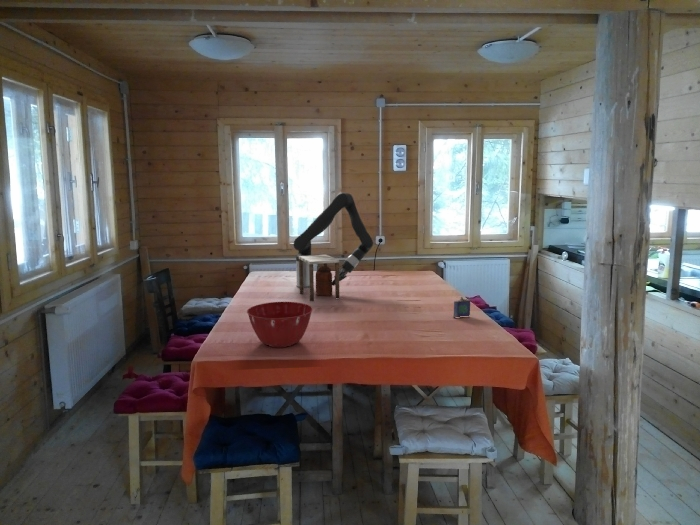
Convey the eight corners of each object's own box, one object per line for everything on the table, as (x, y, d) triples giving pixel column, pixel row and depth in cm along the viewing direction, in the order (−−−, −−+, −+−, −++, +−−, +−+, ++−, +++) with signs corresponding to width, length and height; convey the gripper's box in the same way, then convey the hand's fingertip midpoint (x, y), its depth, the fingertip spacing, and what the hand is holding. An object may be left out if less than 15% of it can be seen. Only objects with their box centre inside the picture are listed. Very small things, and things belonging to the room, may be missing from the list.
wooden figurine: (335, 294, 339) (335, 266, 336) (331, 296, 333) (330, 267, 331) (318, 293, 343) (317, 265, 341) (313, 295, 338) (313, 266, 335)
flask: (455, 318, 280) (455, 298, 278) (452, 317, 282) (452, 297, 281) (470, 317, 283) (471, 297, 281) (467, 316, 285) (468, 295, 284)
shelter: (299, 293, 344) (298, 256, 341) (327, 290, 351) (326, 254, 347) (310, 301, 322) (309, 261, 318) (340, 298, 328) (339, 259, 324)
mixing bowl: (313, 352, 229) (312, 316, 227) (244, 354, 227) (243, 318, 224) (312, 333, 257) (312, 300, 254) (251, 334, 255) (250, 302, 252)
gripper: (342, 258, 345) (324, 279, 343) (350, 261, 333) (331, 282, 330) (350, 266, 348) (332, 286, 345) (358, 269, 336) (340, 290, 333)
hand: (332, 284), depth 338 cm, fingers closed
